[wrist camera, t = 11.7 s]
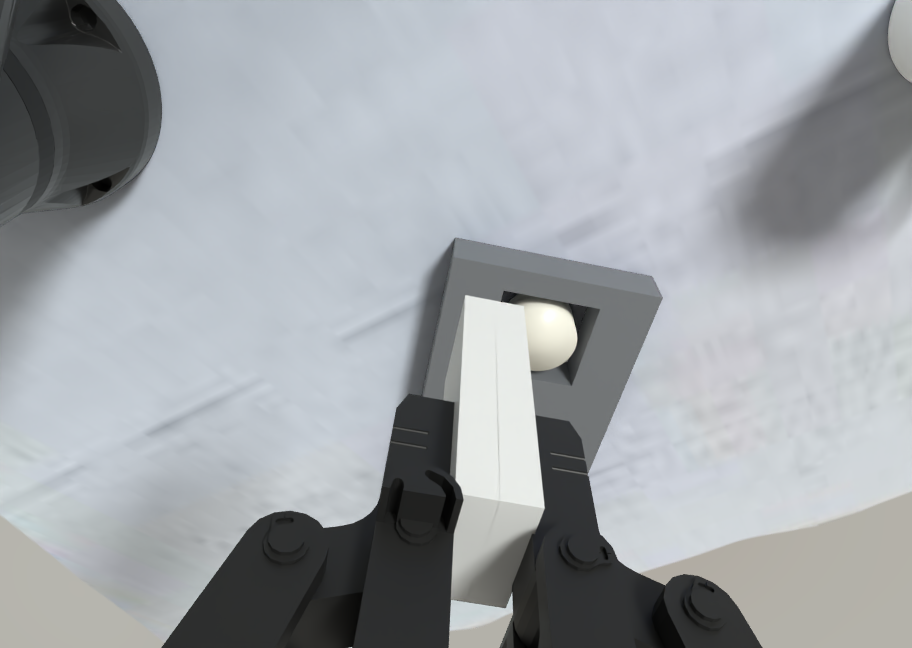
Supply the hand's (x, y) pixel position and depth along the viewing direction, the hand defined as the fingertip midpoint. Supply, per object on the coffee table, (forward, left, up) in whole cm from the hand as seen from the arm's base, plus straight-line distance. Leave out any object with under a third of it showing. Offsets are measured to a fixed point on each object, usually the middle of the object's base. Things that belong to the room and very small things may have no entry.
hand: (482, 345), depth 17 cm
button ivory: (+7, -14, -26) cm, 30 cm away
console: (+7, -24, -26) cm, 36 cm away
